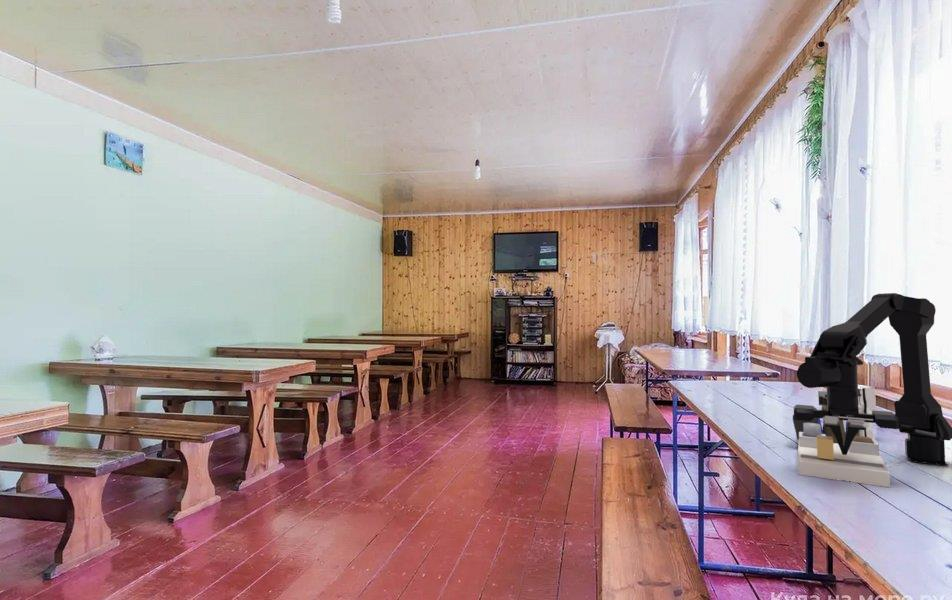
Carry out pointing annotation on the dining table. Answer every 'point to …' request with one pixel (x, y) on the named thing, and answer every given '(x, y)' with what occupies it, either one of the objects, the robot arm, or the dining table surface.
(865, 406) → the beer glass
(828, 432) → the olive knobbed pillar
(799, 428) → the leaning round-cornered charcoal block
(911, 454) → the robot arm
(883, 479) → the control panel
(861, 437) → the walnut button
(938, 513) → the dining table surface
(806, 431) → the grey button
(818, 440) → the tan wooden brick
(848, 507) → the dining table surface
